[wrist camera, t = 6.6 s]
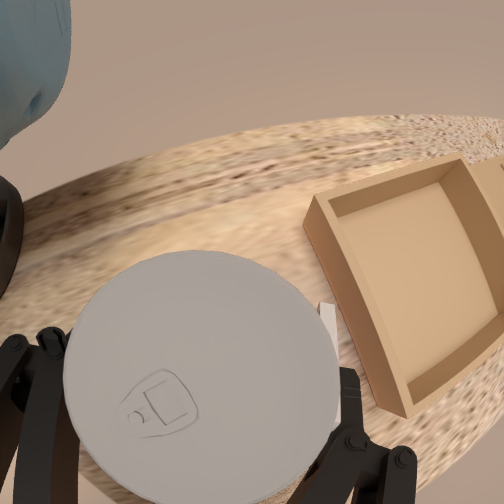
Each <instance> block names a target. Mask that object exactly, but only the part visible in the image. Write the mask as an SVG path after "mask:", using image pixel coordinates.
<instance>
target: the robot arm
mask: <svg viewBox="0 0 504 504" xmlns="http://www.w3.org/2000/svg"><path fill="white" fill-rule="evenodd" d="M70 52H71V7H70V0H0V150H1V149H2V148H3V147H4V146H5V145H6V144H7V143H8V142H9V140H10V139H11V138H12V137H13V136H14V135H16V134H17V133H19V132H20V131H22V130H23V129H25V128H26V127H28V126H29V125H31V124H32V123H34V122H35V121H37V120H38V119H39V118H41V117H42V116H43V115H44V114H45V113H46V112H47V111H48V110H49V109H50V108H51V107H52V105H53V104H54V102H55V101H56V99H57V97H58V96H59V94H60V92H61V89H62V87H63V85H64V82H65V78H66V75H67V71H68V66H69V60H70ZM23 220H24V213H23V204H22V199H21V196H20V194H19V192H18V190H17V189H16V188H15V187H14V186H13V185H12V184H11V183H9V182H8V181H7V180H6V179H5V178H4V177H2V176H0V297H1V295H2V294H3V292H4V290H5V288H6V286H7V284H8V282H9V280H10V277H11V275H12V272H13V269H14V267H15V264H16V260H17V257H18V253H19V249H20V244H21V239H22V232H23ZM317 312H318V314H319V316H320V318H321V319H322V321H323V323H324V325H325V326H326V328H327V330H328V332H329V334H330V336H331V339H332V342H333V345H334V349H335V352H336V355H337V359H338V362H339V355H338V340H337V326H336V314H335V305H333V304H329V303H324V302H320V303H319V305H318V308H317ZM72 329H73V328H72ZM72 329H71V330H70V332H69V333H68V334H67V335H66V336H65V334H64V332H63V331H62V330H61V329H60V328H57V327H47V328H44V329H42V330H41V331H40V332H39V333H38V334H37V336H36V339H37V341H38V344H39V346H36V345H31V344H29V342H28V340H27V338H26V337H25V336H23V335H21V334H14V335H11V336H9V337H8V338H7V339H6V340H5V341H4V343H3V344H2V345H1V347H0V492H1V489H2V486H3V483H4V480H5V478H6V475H7V472H8V469H9V467H10V464H11V462H12V459H13V457H14V454H15V451H16V449H17V446H18V452H17V459H16V468H15V477H14V490H13V504H78V462H79V446H80V439H79V437H78V435H77V433H76V431H75V429H74V427H73V425H72V422H71V419H70V415H69V412H68V409H67V405H66V402H65V393H64V384H63V371H64V359H65V352H66V349H67V345H68V342H69V338H70V335H71V332H72ZM339 374H340V388H341V390H340V397H339V404H338V411H337V417H336V419H335V422H334V425H333V427H332V430H331V432H330V435H329V438H328V440H327V442H326V444H325V445H324V447H323V448H322V450H321V451H320V453H319V455H318V456H317V458H316V459H315V460H314V462H313V463H312V465H311V466H310V467H309V470H308V471H307V473H306V475H305V476H304V478H303V479H302V481H301V482H300V484H299V485H298V487H297V488H296V490H295V491H294V493H293V494H292V496H291V497H290V499H289V500H288V502H287V503H286V504H345V503H346V501H347V499H348V497H349V495H350V493H351V491H352V489H353V487H354V491H353V496H352V500H351V504H415V494H416V480H417V456H416V454H415V453H414V451H413V450H412V449H411V448H409V447H407V446H397V447H395V448H393V449H392V450H391V449H388V448H385V447H382V446H379V445H377V444H375V443H373V442H372V441H371V440H370V438H369V437H368V435H367V434H366V433H365V432H364V427H363V413H362V400H361V391H360V379H359V377H358V375H357V373H356V371H355V370H354V369H350V368H344V367H339ZM17 378H18V379H17ZM18 444H19V445H18Z"/></svg>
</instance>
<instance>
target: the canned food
mask: <svg viewBox="0 0 504 504" xmlns="http://www.w3.org/2000/svg"><path fill="white" fill-rule="evenodd" d="M63 384H64V393H65V402H66V405H67V409H68V412H69V415H70V419H71V422H72V425H73V427H74V429H75V431H76V433H77V435H78V437H79V439H80V441H81V442H82V444H83V446H84V448H85V449H86V450H87V452H88V453H89V454H90V456H91V457H92V458H93V459H94V461H95V462H96V463H97V464H98V466H99V467H100V468H101V469H102V470H104V471H105V472H106V473H107V474H108V475H109V476H110V477H111V478H112V479H114V480H115V481H116V482H117V483H118V484H120V485H121V486H123V487H125V488H126V489H128V490H129V491H131V492H133V493H134V494H136V495H138V496H139V497H141V498H144V499H146V500H149V501H151V502H154V503H156V504H255V503H258V502H260V501H263V500H265V499H268V498H270V497H272V496H273V495H275V494H276V493H278V492H280V491H281V490H283V489H284V488H286V487H287V486H289V485H290V484H292V483H293V482H294V481H295V480H296V479H297V478H298V477H300V476H301V475H302V474H303V473H304V472H305V471H306V470H307V469H308V468H309V467H310V466H311V465H312V463H313V462H314V460H315V459H316V457H317V456H318V455H319V453H320V451H321V450H322V448H323V447H324V445H325V444H326V442H327V440H328V438H329V435H330V432H331V430H332V427H333V425H334V422H335V419H336V417H337V411H338V404H339V397H340V390H341V388H340V374H339V362H338V359H337V355H336V352H335V349H334V345H333V342H332V339H331V336H330V334H329V332H328V330H327V328H326V326H325V325H324V323H323V321H322V319H321V318H320V316H319V314H318V312H317V310H316V309H315V308H314V307H313V306H312V305H311V304H310V302H309V301H308V300H307V299H306V298H305V297H304V296H303V295H302V293H301V292H300V291H299V290H298V289H297V288H296V287H294V286H293V285H292V284H290V283H289V282H288V281H286V280H285V279H284V278H282V277H281V276H280V275H278V274H277V273H276V272H274V271H272V270H270V269H268V268H266V267H264V266H262V265H260V264H258V263H256V262H254V261H252V260H250V259H246V258H243V257H239V256H235V255H231V254H227V253H224V252H216V251H201V250H189V251H181V252H172V253H165V254H162V255H159V256H156V257H153V258H150V259H147V260H144V261H140V262H139V263H137V264H135V265H133V266H131V267H130V268H128V269H126V270H124V271H122V272H120V273H119V274H117V275H116V276H115V277H114V278H112V279H111V280H110V281H109V282H108V283H106V284H105V285H104V286H103V287H102V288H100V289H99V290H98V291H97V293H96V294H95V295H94V296H93V297H92V299H91V300H90V301H89V302H88V304H87V305H86V306H85V307H84V309H83V310H82V312H81V314H80V316H79V318H78V320H77V322H76V324H75V326H74V327H73V329H72V332H71V335H70V338H69V342H68V345H67V349H66V352H65V359H64V371H63Z"/></svg>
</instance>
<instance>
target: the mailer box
mask: <svg viewBox="0 0 504 504" xmlns="http://www.w3.org/2000/svg"><path fill="white" fill-rule="evenodd" d="M303 227H304V229H305V231H306V233H307V235H308V237H309V239H310V242H311V244H312V246H313V248H314V250H315V252H316V255H317V257H318V259H319V261H320V264H321V266H322V268H323V270H324V273H325V275H326V277H327V279H328V282H329V284H330V286H331V289H332V291H333V293H334V296H335V298H336V300H337V303H338V305H339V308H340V310H341V312H342V315H343V317H344V320H345V322H346V325H347V327H348V330H349V332H350V335H351V337H352V340H353V342H354V345H355V347H356V350H357V352H358V355H359V357H360V360H361V363H362V365H363V368H364V371H365V373H366V376H367V379H368V381H369V384H370V387H371V390H372V392H373V395H374V398H375V401H376V404H377V407H379V408H382V409H384V410H386V411H389V412H391V413H394V414H396V415H398V416H401V417H403V418H406V419H409V418H411V417H412V416H414V415H415V414H417V413H418V412H420V411H421V410H423V409H424V408H426V407H427V406H428V405H430V404H431V403H433V402H434V401H435V400H437V399H438V398H440V397H441V396H442V395H444V394H445V393H446V392H448V391H449V390H450V389H451V388H453V387H454V386H455V385H457V384H458V383H459V382H460V381H461V380H463V379H464V378H465V377H466V376H467V375H469V374H470V373H471V372H472V371H473V370H474V369H476V368H477V367H478V366H479V365H480V364H481V363H482V362H483V361H485V360H486V359H487V358H488V357H489V356H490V355H491V354H492V353H493V352H494V351H495V350H496V349H497V348H498V347H499V346H500V345H501V344H502V343H503V342H504V156H503V155H500V156H497V157H494V158H491V159H488V160H485V161H482V162H479V163H476V164H473V165H469V164H468V162H467V161H466V159H465V158H464V156H463V155H462V153H461V152H456V153H452V154H449V155H445V156H441V157H438V158H434V159H430V160H427V161H423V162H420V163H416V164H413V165H409V166H406V167H402V168H399V169H395V170H392V171H388V172H385V173H382V174H378V175H375V176H372V177H368V178H365V179H362V180H358V181H355V182H352V183H349V184H345V185H342V186H339V187H336V188H333V189H330V190H326V191H323V192H320V193H317V194H314V196H313V199H312V202H311V204H310V207H309V210H308V212H307V215H306V217H305V220H304V223H303Z"/></svg>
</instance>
